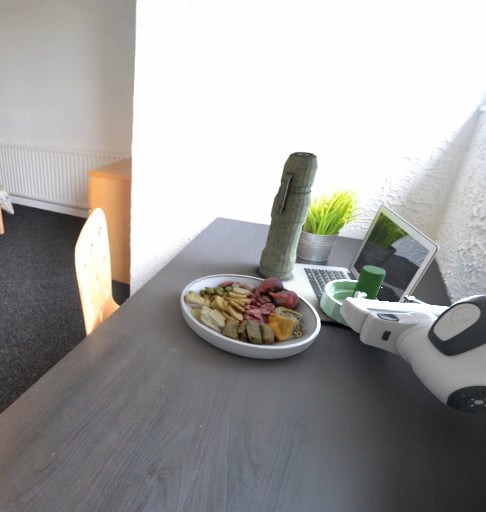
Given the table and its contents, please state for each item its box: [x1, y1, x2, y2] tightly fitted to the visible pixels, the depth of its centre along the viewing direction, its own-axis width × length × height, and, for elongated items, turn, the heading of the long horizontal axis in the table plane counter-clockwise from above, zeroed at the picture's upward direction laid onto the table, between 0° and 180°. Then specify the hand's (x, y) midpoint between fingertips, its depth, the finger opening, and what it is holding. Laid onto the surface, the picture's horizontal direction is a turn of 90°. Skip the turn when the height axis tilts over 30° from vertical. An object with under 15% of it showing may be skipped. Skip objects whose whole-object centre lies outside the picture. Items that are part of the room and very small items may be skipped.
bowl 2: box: [319, 279, 358, 328], centre depth 89 cm, size 16×16×5 cm
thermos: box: [258, 151, 319, 282], centre depth 101 cm, size 9×12×35 cm
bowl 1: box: [180, 273, 321, 360], centre depth 87 cm, size 30×30×8 cm
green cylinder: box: [352, 264, 387, 300], centre depth 88 cm, size 4×4×12 cm
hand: (382, 296), depth 81 cm, fingers open, 8 cm apart
